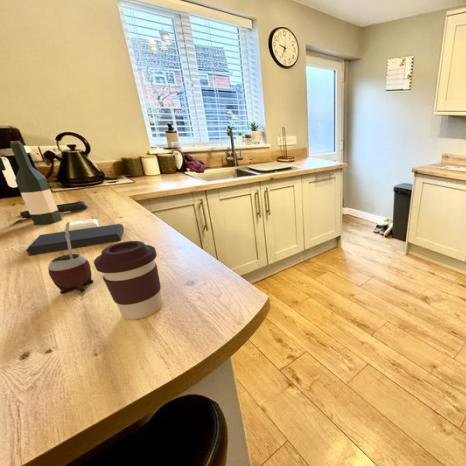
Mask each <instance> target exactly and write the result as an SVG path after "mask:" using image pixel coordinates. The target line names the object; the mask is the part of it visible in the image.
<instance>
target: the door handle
mask: <svg viewBox="0 0 466 466" xmlns="http://www.w3.org/2000/svg"><path fill="white" fill-rule="evenodd" d="M56 206H57V208H58V211H59V213H60V215H64V214H71V213H72V212H73V213H74V212H79V211H80V212H81V211H85V210H87V209H88V205H87V203H86V202H85V201H83V200H79V201H76V202H68V203H60V204H56ZM19 215H20V217H21V219H32V218H31V216H30V213H29V211H28V210H23V211H20V212H19Z"/></svg>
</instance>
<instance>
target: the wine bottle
mask: <svg viewBox="0 0 466 466" xmlns="http://www.w3.org/2000/svg"><path fill="white" fill-rule="evenodd" d="M9 146H10V149H11V152H12V153H13V156H14V158H15V161H16V163H17V166H18V168H19V169H18V171H17V174H16V177H15V179H14V181H15V183H16V185H17V188H18V190H19V192H20V195H21V197H22V199H23V202H24V204H25V206H26V209H27V211H29V213H30V216H31V218H30V219H31V221H32V222H33V225H34V226H44V225H50V224H55V223H58V222H61V221H62V220H63V219H62V216H61V214H60V213H59V211H58V208H57V206H56V205H57V202H56V201H55V198H54V196H53V193H52V191H51V188H50V186H49V185H50V184H49V183H48V180H47V178H46V176H45V175H43V174H42V173H41V172H39V171H38V170H37V169H36V168H34V167H33V165H32V163H31V161H30V160H31V159H30V158H29V154H28V153H27V150H26V148H25V146H24V143H22V142H21V141H20V140H12V141H11V140H10V143H9Z"/></svg>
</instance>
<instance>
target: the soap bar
mask: <svg viewBox="0 0 466 466" xmlns="http://www.w3.org/2000/svg"><path fill="white" fill-rule="evenodd" d="M68 222H69V231H71V230H79V229H86V228H93V227H99V222H98V220H97V219H94V218H90V219H84V220H83V219H82V220H78V221H77V220H76V221H68ZM66 224H67V222H66V223H65V224H64V226H63V232H64V231H66Z"/></svg>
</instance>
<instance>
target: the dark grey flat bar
mask: <svg viewBox="0 0 466 466" xmlns="http://www.w3.org/2000/svg"><path fill="white" fill-rule="evenodd" d="M124 232H125V228H124V225H123V224H122V223H116V224H109V225H101V226H98V227H93V228H86V229H79V230H71V231H69V234H70V243H71V248H72V250H73V249H78V248H84V247H89V246H96V245H102V244H109V243H115V242H122V241H121V240H122V237H123V234H124ZM65 234H66V231H64V230H63V231H58V232H57V231H56V232H49V233H44V234H39V235H38V236H37V237H36V239H34V240H33V242H31V243H30V245H28V247H27V248H26V253H27V254H28V256H30V257H31V256H34V255H35V256H36V255H41V254H47V253H53V252H54V253H55V252H60V251H66V250H69V249H68V244H67V239H66V237H65Z"/></svg>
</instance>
